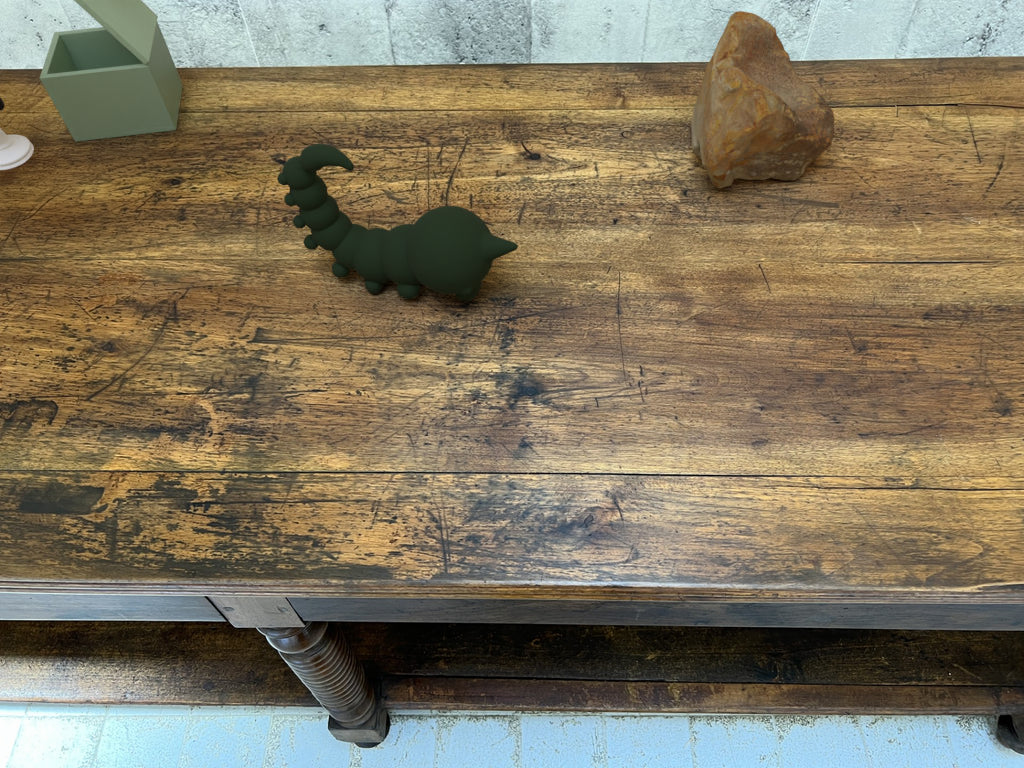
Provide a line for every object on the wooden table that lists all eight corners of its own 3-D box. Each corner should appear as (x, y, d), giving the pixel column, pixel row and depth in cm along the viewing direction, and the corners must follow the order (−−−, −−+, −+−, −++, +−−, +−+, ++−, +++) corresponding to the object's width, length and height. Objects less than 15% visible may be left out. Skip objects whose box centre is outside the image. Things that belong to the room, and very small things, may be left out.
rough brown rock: (815, 233, 98) (866, 129, 86) (678, 208, 99) (710, 102, 87) (812, 119, 112) (856, 15, 100) (692, 98, 113) (720, -7, 101)
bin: (75, 142, 111) (39, 78, 103) (87, 95, 118) (54, 32, 110) (176, 130, 112) (148, 66, 104) (183, 84, 118) (157, 21, 110)
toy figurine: (310, 302, 95) (514, 332, 89) (250, 172, 80) (490, 196, 74) (341, 246, 101) (537, 270, 94) (290, 114, 86) (518, 132, 79)
